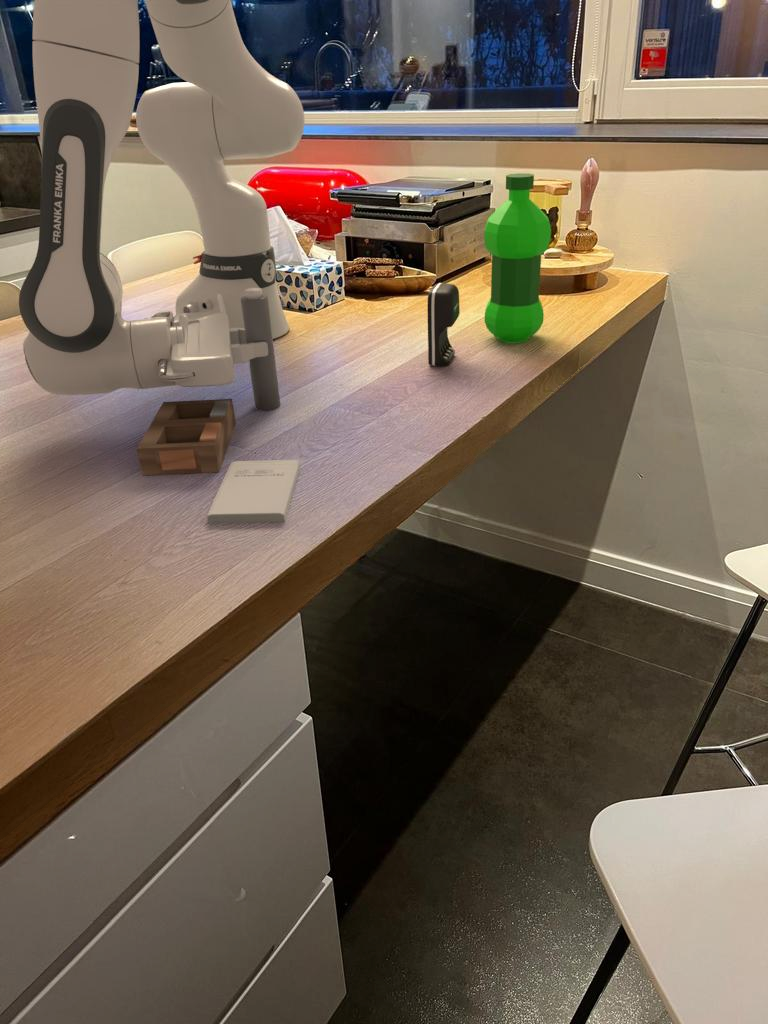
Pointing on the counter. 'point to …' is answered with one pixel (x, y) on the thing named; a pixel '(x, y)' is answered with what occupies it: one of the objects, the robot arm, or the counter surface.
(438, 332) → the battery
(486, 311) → the plastic bottle
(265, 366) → the plug
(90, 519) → the counter surface
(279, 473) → the external hard drive
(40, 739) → the counter surface
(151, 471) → the dock
